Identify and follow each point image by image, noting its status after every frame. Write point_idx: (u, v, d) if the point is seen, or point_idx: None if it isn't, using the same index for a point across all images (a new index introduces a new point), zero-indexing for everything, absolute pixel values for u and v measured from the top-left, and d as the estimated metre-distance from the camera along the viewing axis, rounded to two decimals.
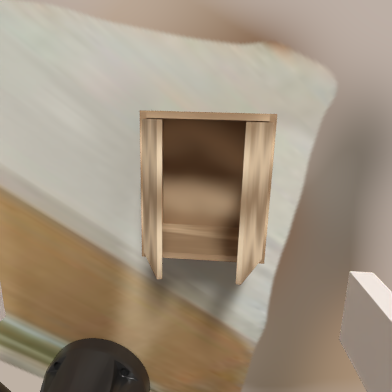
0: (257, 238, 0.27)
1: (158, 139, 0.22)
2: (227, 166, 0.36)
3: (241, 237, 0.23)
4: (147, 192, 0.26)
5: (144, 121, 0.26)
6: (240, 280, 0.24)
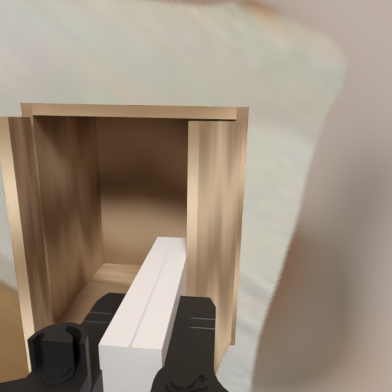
0: (222, 319, 0.16)
1: (4, 156, 0.11)
2: None
3: None
4: None
5: None
6: None
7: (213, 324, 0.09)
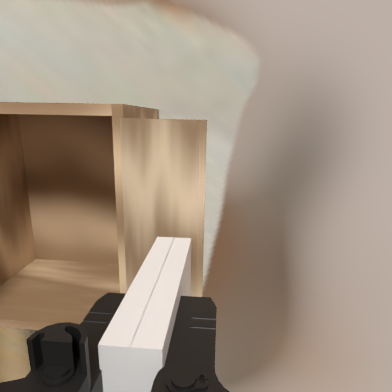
0: None
1: None
2: (113, 181, 0.26)
3: None
4: None
5: None
6: None
7: (213, 324, 0.09)
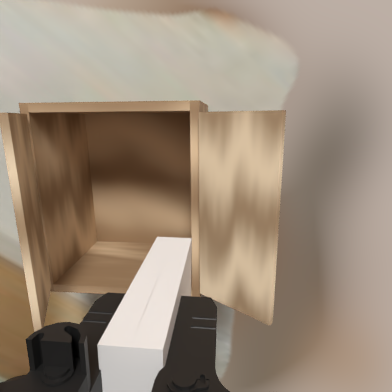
0: None
1: (5, 142, 0.15)
2: (168, 170, 0.29)
3: (275, 263, 0.18)
4: None
5: None
6: (271, 317, 0.19)
7: (214, 324, 0.09)
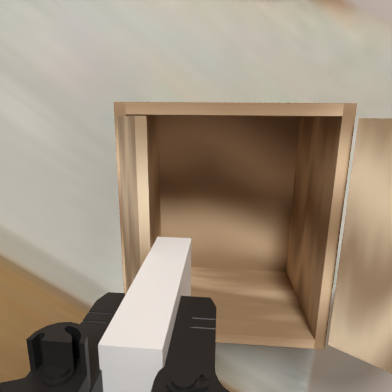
0: None
1: (139, 157, 0.11)
2: (254, 184, 0.25)
3: None
4: (128, 246, 0.15)
5: (119, 120, 0.14)
6: None
7: (214, 324, 0.09)
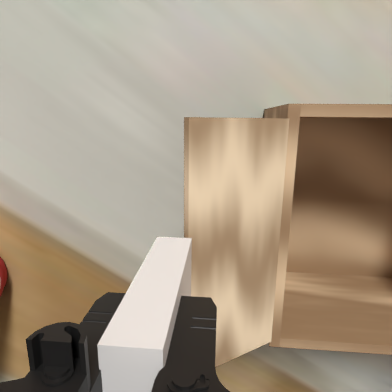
0: None
1: (185, 152, 0.13)
2: (368, 188, 0.24)
3: None
4: None
5: None
6: None
7: (214, 324, 0.09)
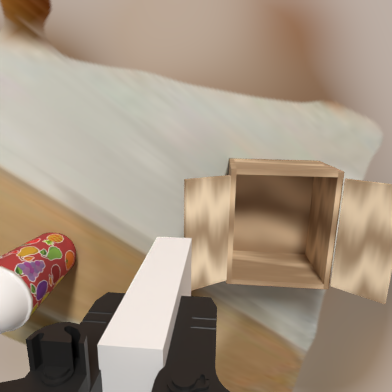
0: None
1: (184, 193, 0.31)
2: (287, 202, 0.42)
3: None
4: None
5: None
6: (385, 299, 0.32)
7: (214, 324, 0.09)
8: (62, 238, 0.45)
